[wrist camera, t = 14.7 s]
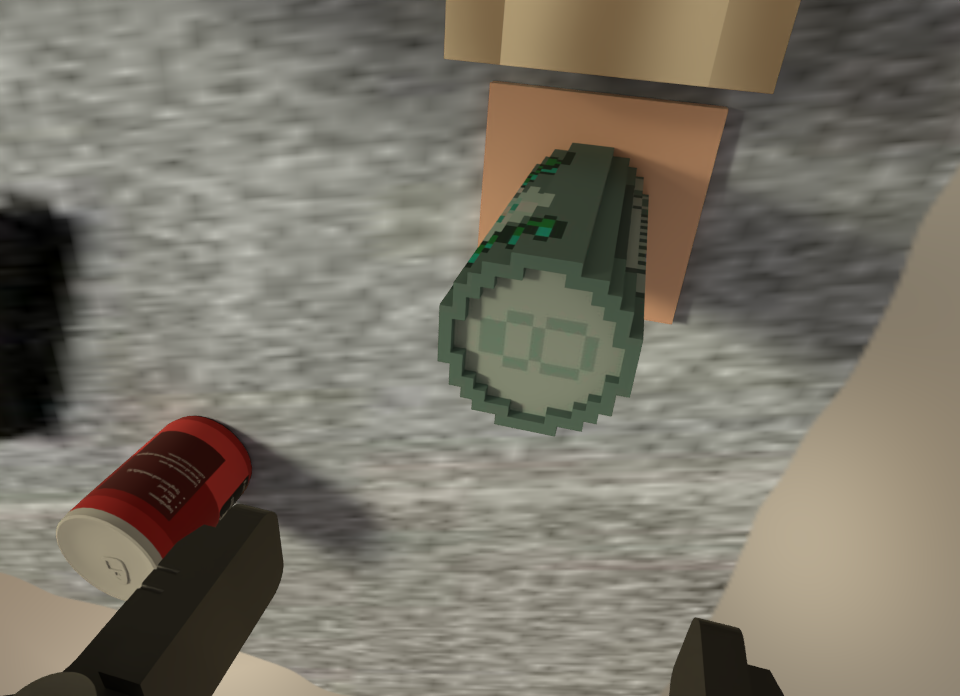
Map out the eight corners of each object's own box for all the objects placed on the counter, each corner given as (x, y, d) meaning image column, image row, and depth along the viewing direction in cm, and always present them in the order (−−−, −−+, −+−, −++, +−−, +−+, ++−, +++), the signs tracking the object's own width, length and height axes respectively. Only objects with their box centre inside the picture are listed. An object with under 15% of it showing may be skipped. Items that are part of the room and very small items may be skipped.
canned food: (200, 496, 52) (101, 605, 43) (149, 419, 49) (30, 519, 39) (272, 487, 49) (183, 603, 40) (223, 405, 46) (114, 510, 37)
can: (531, 137, 30) (441, 241, 18) (657, 152, 29) (658, 275, 17) (519, 253, 33) (435, 412, 21) (632, 270, 32) (617, 449, 20)
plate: (477, 284, 36) (474, 290, 35) (493, 80, 30) (490, 82, 29) (671, 317, 34) (671, 324, 33) (726, 106, 28) (728, 109, 28)
